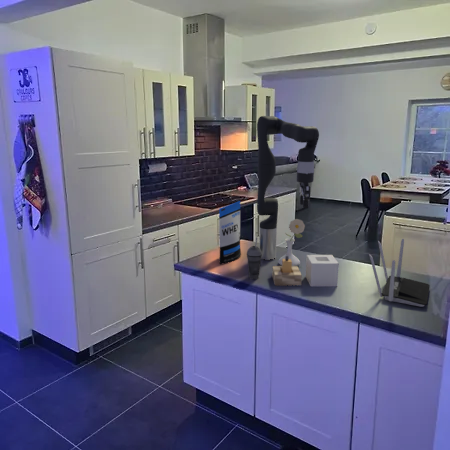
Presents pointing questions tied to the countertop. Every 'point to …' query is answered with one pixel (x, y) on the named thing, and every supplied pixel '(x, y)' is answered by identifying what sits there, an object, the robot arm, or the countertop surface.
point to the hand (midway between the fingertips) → (303, 206)
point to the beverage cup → (254, 261)
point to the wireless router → (401, 284)
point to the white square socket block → (322, 270)
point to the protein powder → (229, 233)
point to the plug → (286, 265)
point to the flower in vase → (295, 227)
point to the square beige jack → (286, 276)
